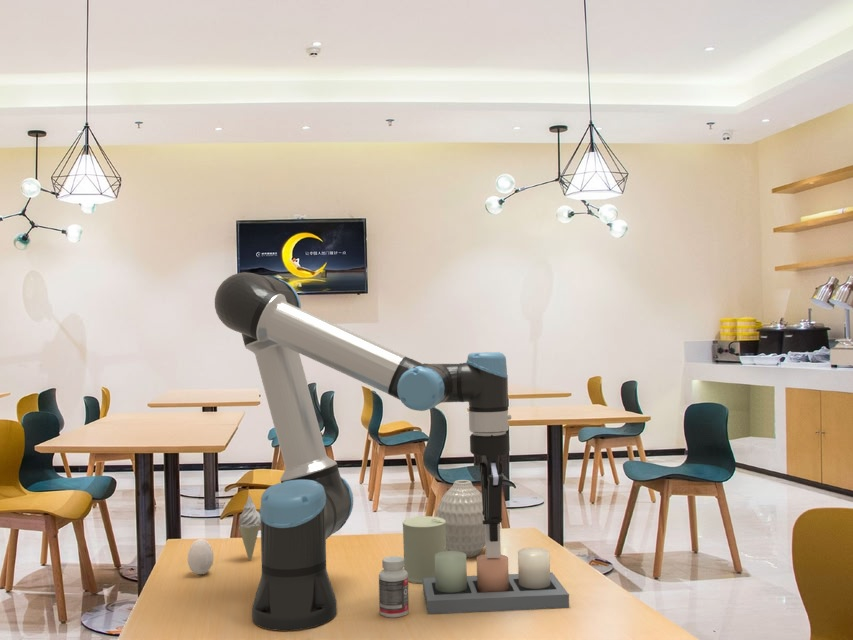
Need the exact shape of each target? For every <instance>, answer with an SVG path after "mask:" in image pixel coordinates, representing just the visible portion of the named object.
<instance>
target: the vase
mask: <svg viewBox="0 0 853 640" xmlns="http://www.w3.org/2000/svg"><path fill="white" fill-rule="evenodd" d="M437 506H438V507H437V509H436V513H435V514H436V515H435V517H439V518H443V519H444V520H445V521H446V551H459V552H463V553H465V554H466V559H469V558H468V557H470V558H474V557H477V556H479V554H480V553H482V551H483V549H484V548H485V524H483V521H482V520H485V519H484V515H483V513H482V511H483V506H482V492H480V490H478V488H477V487H475V486H474V485H473V483H472V481H471V480H467V479H458V480H457V479H456V480H455V481H453V485H452V486H451V487H449V489H448V490H447V491H446V492H445V493H444V494H443V496H442V497H441V499H440V501H439V503H438V505H437ZM476 555H477V556H476Z"/></svg>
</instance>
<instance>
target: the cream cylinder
mask: <svg viewBox="0 0 853 640" xmlns="http://www.w3.org/2000/svg"><path fill="white" fill-rule="evenodd" d="M550 561H551V560H550V550H548V549H546V548H543V547H524V548H520V549H518V550H517V571H518V572H517V574H518V576H519V585H520V586H522V587H525V588H531V589H540V588H546V587H548V586H550V572H551V563H550Z"/></svg>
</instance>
